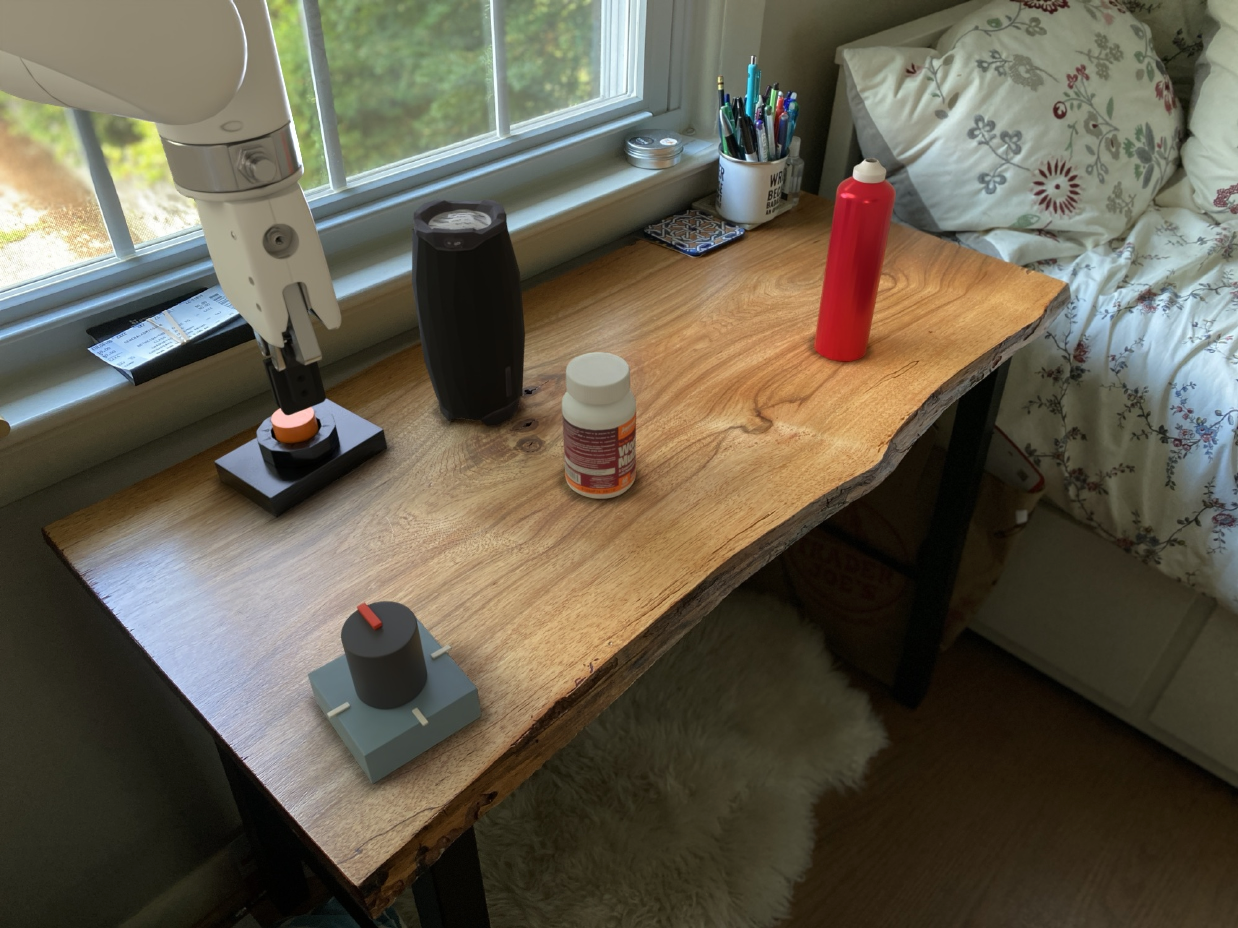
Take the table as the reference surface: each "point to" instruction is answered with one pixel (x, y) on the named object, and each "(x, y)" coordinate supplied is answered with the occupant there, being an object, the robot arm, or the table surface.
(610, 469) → the pill bottle
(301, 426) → the button
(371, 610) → the dial
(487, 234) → the portable speaker
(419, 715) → the panel
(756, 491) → the table surface
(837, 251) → the bottle
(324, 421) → the button block
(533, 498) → the table surface
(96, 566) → the table surface
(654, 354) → the table surface
